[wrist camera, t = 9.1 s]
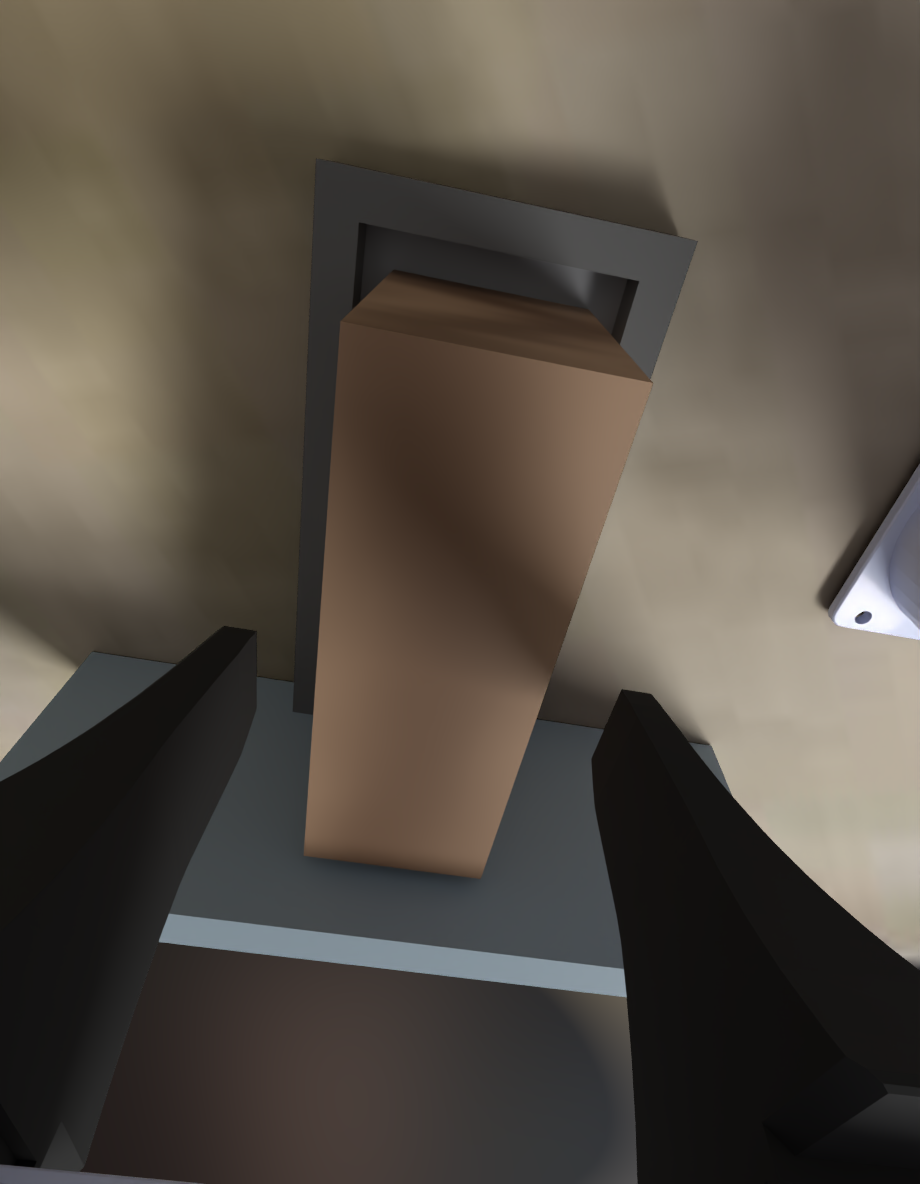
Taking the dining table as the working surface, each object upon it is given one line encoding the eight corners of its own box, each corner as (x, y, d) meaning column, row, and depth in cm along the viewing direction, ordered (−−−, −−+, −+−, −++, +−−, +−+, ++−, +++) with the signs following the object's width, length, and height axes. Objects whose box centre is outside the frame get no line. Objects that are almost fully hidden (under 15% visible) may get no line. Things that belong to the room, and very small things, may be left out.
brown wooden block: (588, 309, 16) (653, 382, 10) (480, 705, 23) (480, 878, 17) (393, 269, 15) (340, 321, 9) (348, 685, 23) (303, 855, 17)
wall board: (972, 300, 16) (1430, 406, 8) (696, 770, 25) (787, 1016, 18) (-17, 85, 14) (-612, -34, 6) (97, 681, 24) (-81, 913, 16)
